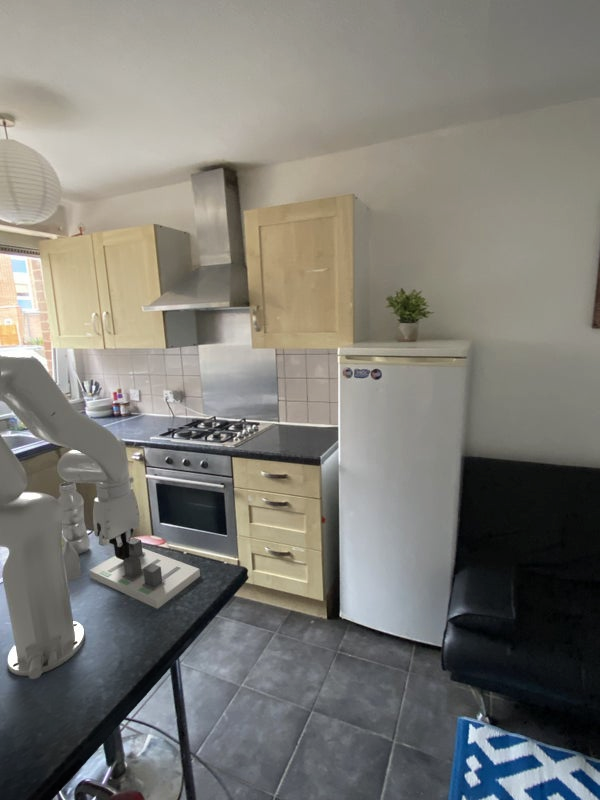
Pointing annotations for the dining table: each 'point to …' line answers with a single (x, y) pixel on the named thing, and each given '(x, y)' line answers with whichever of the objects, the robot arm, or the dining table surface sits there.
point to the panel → (171, 570)
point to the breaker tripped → (135, 548)
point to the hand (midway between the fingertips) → (123, 557)
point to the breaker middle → (132, 568)
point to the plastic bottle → (73, 517)
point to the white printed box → (70, 560)
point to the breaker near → (152, 576)
